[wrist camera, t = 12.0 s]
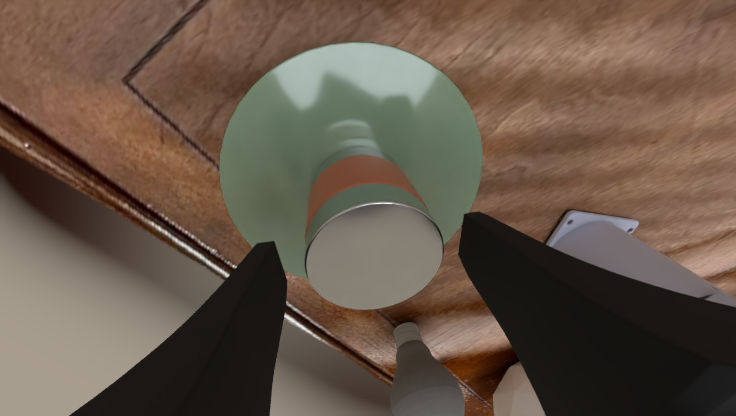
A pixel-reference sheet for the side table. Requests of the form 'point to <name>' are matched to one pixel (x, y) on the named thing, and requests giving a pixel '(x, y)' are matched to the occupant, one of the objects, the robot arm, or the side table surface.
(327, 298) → the can
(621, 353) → the robot arm
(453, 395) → the light bulb
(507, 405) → the geometric shape
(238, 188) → the pale green flat cylinder
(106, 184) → the side table surface
